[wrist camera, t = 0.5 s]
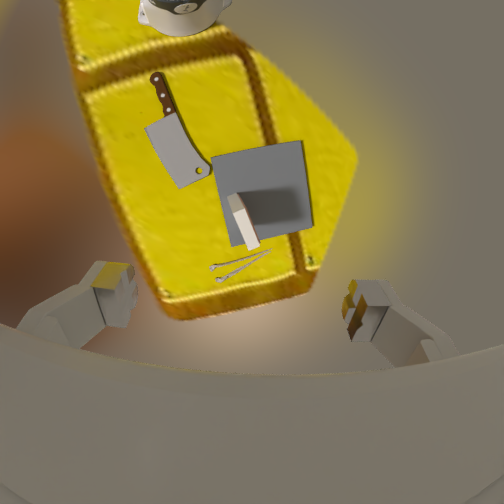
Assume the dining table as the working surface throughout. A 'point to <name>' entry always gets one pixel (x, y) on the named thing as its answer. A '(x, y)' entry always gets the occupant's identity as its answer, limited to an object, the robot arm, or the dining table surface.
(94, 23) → the dining table surface
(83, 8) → the dining table surface
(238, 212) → the tile
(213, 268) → the tweezers
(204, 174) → the kitchen cleaver
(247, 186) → the mat
